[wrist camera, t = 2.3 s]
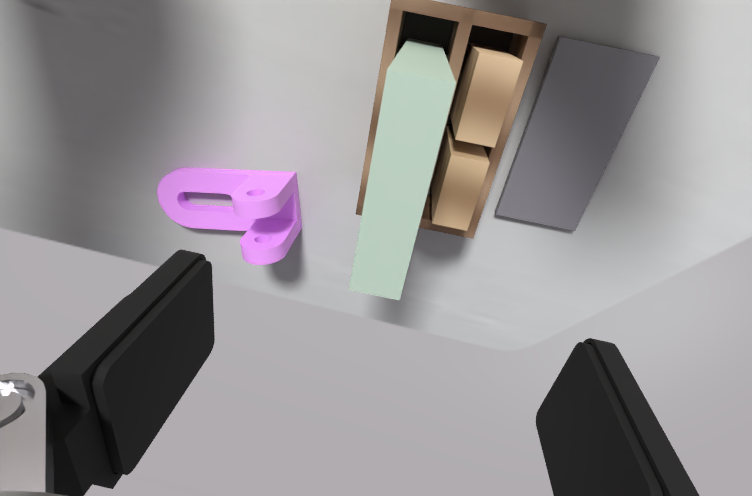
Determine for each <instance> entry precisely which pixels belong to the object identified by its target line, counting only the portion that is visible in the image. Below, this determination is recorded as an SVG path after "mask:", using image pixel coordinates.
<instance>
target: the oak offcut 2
mask: <svg viewBox="0 0 752 496" xmlns="http://www.w3.org/2000/svg"><path fill="white" fill-rule="evenodd" d="M489 164H490V162H489V160H488V157H487V155H486V152H485V150H484V147H483V145H479V144H474V143H469V142H465V141H460V140H455V136H454V131H453V126H452V125H447V124H446V127H445V131H444V135H443V139H442V143H441V147H440V150H439V154H438V158H437V162H436V166H435V170H434V173H433V177H432V181H431V193H432V224H437V225H442V226H446V227H451V228H456V229H461V230H466V231H467V230H468V227H469V224H470V221H471V218H472V215H473V212H474V209H475V206H476V203H477V200H478V197H479V194H480V191H481V188H482V185H483V182H484V179H485V176H486V173H487V170H488V167H489Z"/></svg>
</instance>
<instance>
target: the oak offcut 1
mask: <svg viewBox="0 0 752 496" xmlns="http://www.w3.org/2000/svg"><path fill="white" fill-rule="evenodd" d="M522 64H523V61H522V60H520V59H518V58H517V57H515V56H513V55H511V54H509V53H508V52H506V51H504V50H502V49H499V48H494V47H489V46H484V45H479V44H474V43H469V42H468V43H467V47H466V51H465V55H464V59H463V62H462V66H461V70H460V74H459V78H458V81H457V85H456V89H455V93H454V97H453V101H452V104H451V108H450V116H451V121H452V126H453V131H454V136H455V140H460V141H465V142H469V143H474V144H479V145H484V146H489V147H494V148H495V145H496V142H497V139H498V136H499V133H500V130H501V127H502V124H503V121H504V118H505V115H506V112H507V109H508V106H509V103H510V100H511V97H512V94H513V91H514V88H515V85H516V82H517V79H518V76H519V73H520V70H521V67H522Z"/></svg>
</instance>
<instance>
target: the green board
mask: <svg viewBox="0 0 752 496" xmlns="http://www.w3.org/2000/svg"><path fill="white" fill-rule="evenodd" d="M455 85H456V81H455V79H454V76H453V73H452V71H451V68H450V65H449V63H448V60H447V57H446V55H445V52H444V49H443V47H442V45H440V44H435V43H431V42H426V41H421V40H416V39H411V38H408V39H407V41H406V42H405V44H404V45H403V47H402V48H401V50H400V51H399V53H398V54H397V55H396V57H395V58H394V60H393V61H392V63H391V64H390V66H389V67H388V69H387V74H386V79H385V85H384V91H383V97H382V102H381V108H380V114H379V120H378V125H377V131H376V137H375V143H374V148H373V154H372V160H371V165H370V171H369V177H368V183H367V188H366V194H365V200H364V206H363V211H362V217H361V223H360V229H359V234H358V240H357V246H356V251H355V257H354V263H353V269H352V274H351V280H350V286H349V290H351V291H356V292H361V293H366V294H370V295H375V296H380V297H385V298H390V299H394V300H399V301H400V297H401V293H402V289H403V285H404V282H405V278H406V274H407V270H408V266H409V262H410V259H411V255H412V251H413V247H414V243H415V239H416V235H417V232H418V228H419V224H420V220H421V216H422V212H423V209H424V205H425V201H426V197H427V193H428V189H429V185H430V182H431V178H432V174H433V170H434V166H435V162H436V159H437V155H438V151H439V147H440V143H441V139H442V135H443V132H444V128H445V124H446V120H447V116H448V112H449V109H450V105H451V101H452V97H453V93H454V89H455Z"/></svg>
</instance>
